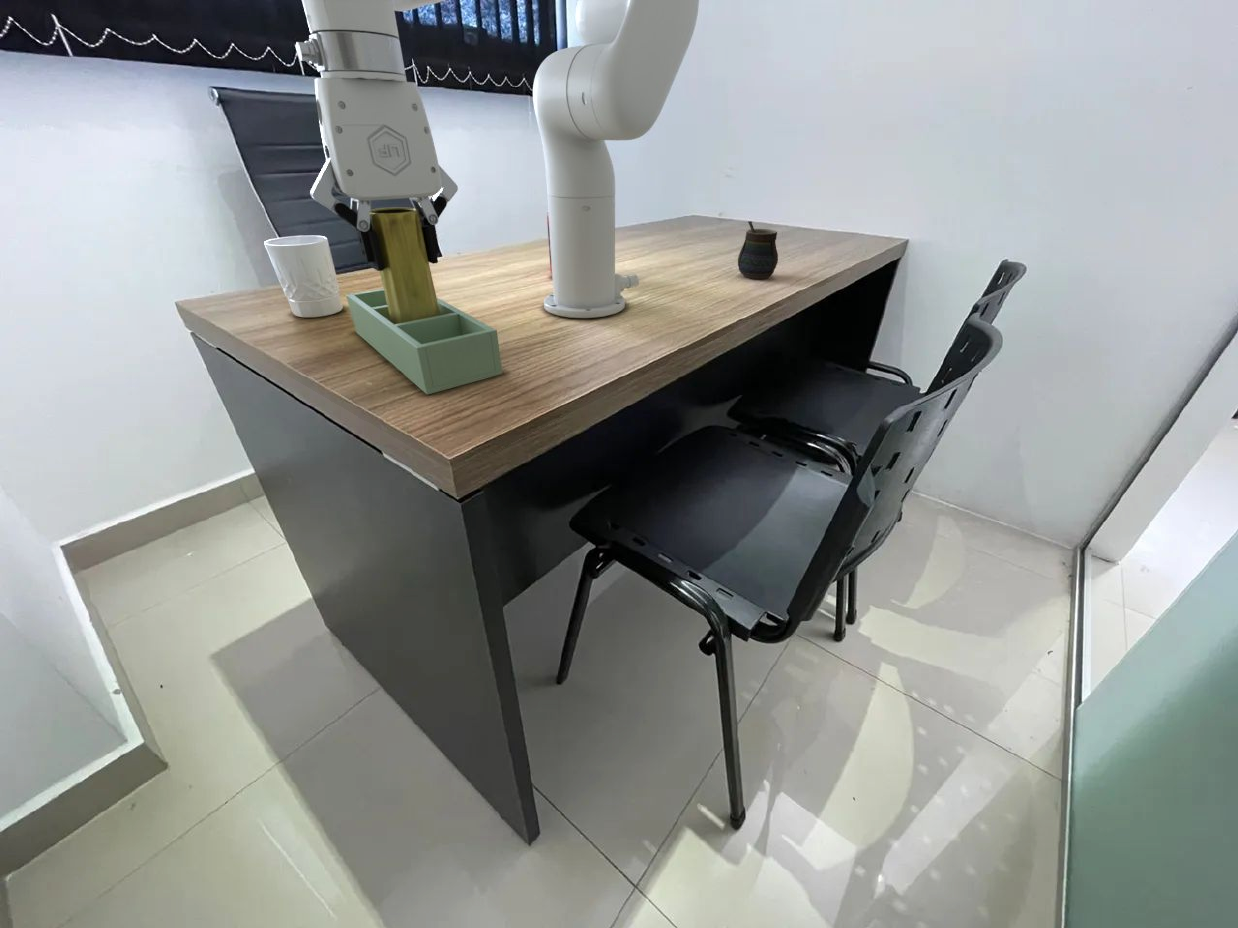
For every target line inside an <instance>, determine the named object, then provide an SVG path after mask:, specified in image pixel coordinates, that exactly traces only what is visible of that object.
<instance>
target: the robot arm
mask: <svg viewBox="0 0 1238 928" xmlns="http://www.w3.org/2000/svg"><path fill="white" fill-rule="evenodd" d="M445 1H447V0H301V2H302V6H303V9H304V13H305V17H306V22H307V25H308V28H309V33H310V35H308V39H307V40H305V41H304V42H303V41H296V43H295V47H296V51H297V55H298V58H299V60H300V62H301V61H302V62H309V63H310V64H312V65H314V67H316V70H317V72H318V73H320V76H321V77H316V78H315V79H314V90H315V91H314V92H315V101H316V110H317V111H316V112H317V117H318V124H319V129H320V135H321V140H322V146H323V152H324V156H325V163H324V164H323V166H322V168H321V171H320V172H319V174H318V176H317V177H316V180H315V182H314V183H313V185H312V188H311V189H310V192H309V195H310V197H311V198H312V199H313V200H314V201H316V202H317V203H319V204H321V206H323V207H325V208H326V209H328V210H330V211H331V212H333V213H334V214H335V215H337V216H338V217H339V218H341V219H342V220H343V221H344V222H346V223H348V224H349V225H350V226H351V227H352V228H354V229H355V232H356V235H357V239H358V243H359V248H360V251H361V255H362V259H363V260H364V263H367V264H369V266H370V268H372V269H374V270H375V271H377V272H380V271H383V270H384V269H385V266H384V262H383V257H382V253H381V249H380V244H379V240H378V236H377V233H376V232H375V231H373V230H372V227H371V224H370V216H371V210H372V201H384V200H387V201H388V200H400V199H409V201H410V203H411V205H412V208H415V209H418V212H419V216H420V222H421V227H422V232H423V237H424V242H425V247H426V252H427V257H428V262H429V264H430V263H431V264H438V263H439V260H438V254H440V246H439V240H438V236H437V235H438V234H437V227H436V225H438V223H439V218H440V216H441V215H442V214H443V212H444V210H445V209H446V207H447V205H448V203H449V202H450V201H451V200H452V199H453V197H454V196H455V195H456V193H457V192H458V191H459V188H458V185H457V184H456V182H455V181H454V180H453V179H452V177H450V176H449V174H448V173H447V172H446V171H445V170H444V169H443V168H442V167H441V166H440V164H439V161H438V160H439V159H438V156H437V150H436V146H435V142H434V138H433V134H432V130H431V127H430V123H429V120H428V119H429V118H428V115H427V113H426V109H425V106H424V102H423V100H422V99H423V98H422V95H421V93H420V90H419V88H418V86H417V83H416V82H414V81H408V80H407V75H406V69H405V63H404V59H403V58H404V57H403V52H402V47H401V41H400V34H399V30H398V25H397V19H396V13H395V12H408V11H412V10H416V9H418V8H422V7H425V6H430V5H435V4H438V3H439V4H440V3H441V2H442V3H443V2H445ZM699 4H700V0H577V1H576V5H575V11H574V15H575V16H574V20H575V28H576V32H577V35H578V38H579V40H580V41H581V43H582V44H583V45H577V46H571V47H565V48H562V49H559V50H557V51H554V52H553V53H551V54H549V55H548V56H546V58H545V59H544V60H543V61H542V62H541V63H540V65H539V67H538V69H537V70H536V73H535V76H534V78H533V85H532V102H533V110H534V115H535V120H536V123H537V128H538V133H539V136H540V141H541V147H542V154H543V161H544V171H545V185H546V198H547V199H546V200H547V212H548V217H549V232H550V248H551V264H552V274H551V278H552V293H551V294H549V295H547V296H546V297H544V299H543V308H544V309H545V311H546V312H548V313H550V314H552V315H555V316H558V317H563V318H570V319H571V318H572V319H595V318H603V317H608V316H612V315H615V314H618V313H619V312H621V311H623V310H624V308H625V306H626V300H625V298H624V296H623V295H621V293H622V292H623V291H624V290H625V289H631V288H637V287H638V286H639V283H640V280H639V277H638V275H637V274H635V273H634V274H629V275H625V276H622V275H621V274H620V273H616V175H615V169H614V164H613V161H612V157H611V154H610V152H609V149H608V146H607V143H606V142H605V141H632V140H636V139H639V138H641V137H643V136H644V135H646V134H647V133H648V132H649V131H650V130H651V128H653V126H654V125H655V123H656V122H657V120H658V118H659V116H660V114H661V112H662V110H663V107H664V105H665V103H666V100H667V98H668V96H669V94H670V91H671V89H672V87H673V85H674V82H675V80H676V77H677V75H678V72H679V70H680V67H681V66H682V63H683V60H684V58H685V55H686V53H687V51H688V48H689V47H690V43H691V41H692V38H693V36H694V33H695V32H694V31H695V28H696V24H697V21H698V14H699ZM333 189H334V190H335V192H336V193H337V194H340V195H342V196H344V197H349V198H350V206H348V205H347V204H345V203H343V202H342V201H340V200H339V199H338V198H336V197H335V196H334V195H333V192H332V191H333ZM430 197H431V198H430Z"/></svg>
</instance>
